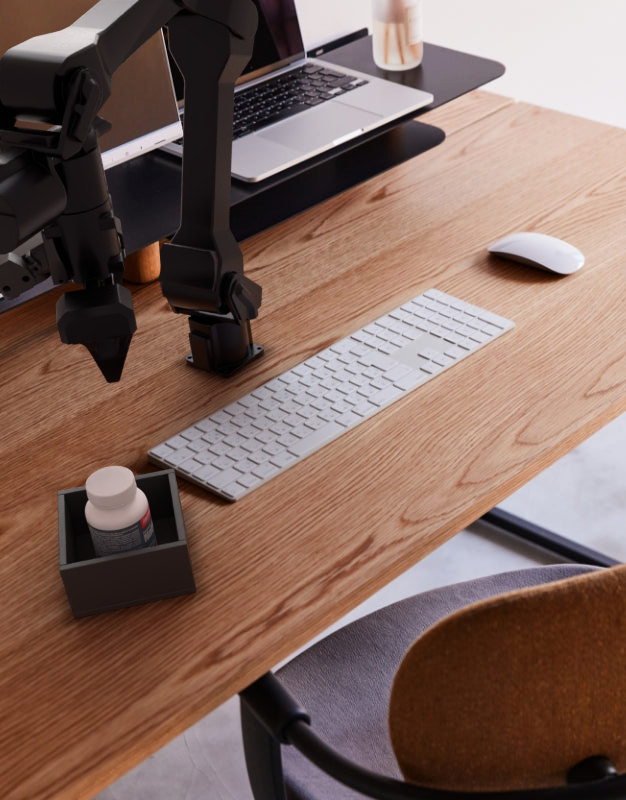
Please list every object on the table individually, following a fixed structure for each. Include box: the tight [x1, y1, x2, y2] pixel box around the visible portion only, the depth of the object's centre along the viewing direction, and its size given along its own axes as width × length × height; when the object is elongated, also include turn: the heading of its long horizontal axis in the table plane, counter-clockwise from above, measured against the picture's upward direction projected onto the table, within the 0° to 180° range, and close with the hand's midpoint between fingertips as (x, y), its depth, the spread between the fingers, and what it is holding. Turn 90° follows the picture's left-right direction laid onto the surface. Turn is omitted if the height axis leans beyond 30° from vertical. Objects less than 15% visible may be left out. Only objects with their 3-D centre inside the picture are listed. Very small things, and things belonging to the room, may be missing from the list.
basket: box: [56, 468, 197, 620], centre depth 92 cm, size 10×10×6 cm
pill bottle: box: [85, 465, 158, 558], centre depth 91 cm, size 5×5×9 cm
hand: (110, 354), depth 99 cm, fingers open, 9 cm apart
